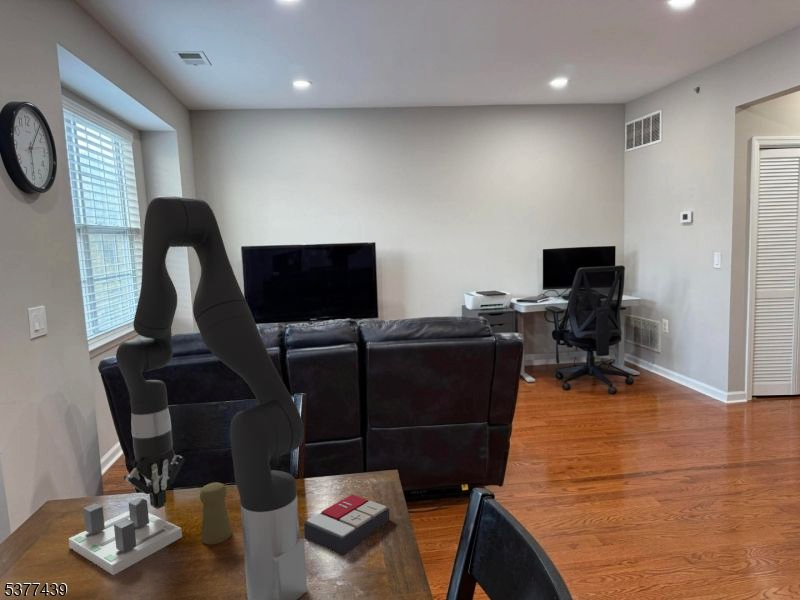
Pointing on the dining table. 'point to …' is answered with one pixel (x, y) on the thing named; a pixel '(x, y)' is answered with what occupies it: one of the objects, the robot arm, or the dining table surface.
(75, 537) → the breaker panel
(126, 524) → the handle
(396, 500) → the dining table surface
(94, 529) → the far breaker handle
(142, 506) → the middle breaker handle
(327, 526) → the calculator
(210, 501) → the cork
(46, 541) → the dining table surface
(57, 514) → the dining table surface
